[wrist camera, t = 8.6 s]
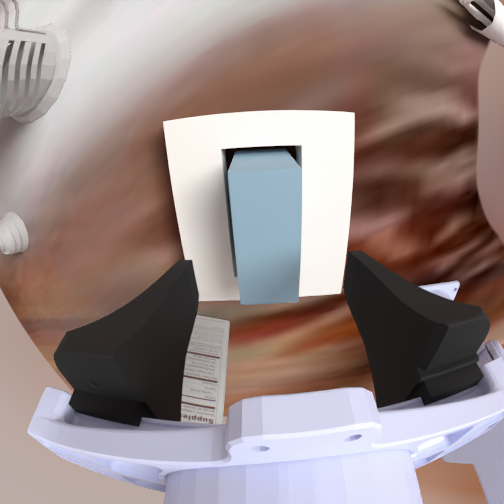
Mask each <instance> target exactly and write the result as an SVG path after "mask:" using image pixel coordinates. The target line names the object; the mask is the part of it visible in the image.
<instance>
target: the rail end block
mask: <svg viewBox="0 0 504 504" xmlns="http://www.w3.org/2000/svg"><path fill="white" fill-rule="evenodd" d="M228 182H229V193H230V204H231V214H232V225H233V235H234V245H235V255H236V265H237V274H238V284H239V293H240V302H241V305H251V304H272V303H289V302H298V301H299V282H300V257H301V216H302V169H301V167H300V166H299V165H298V164H297V162H296V161H295V160H294V159H293V157H292V156H291V155H290V154H289V152H288V151H287V150H286V149H285V148H279V149H255V150H239V151H236V152H235V154H234V157H233V159H232V162H231V165H230V167H229V170H228Z"/></svg>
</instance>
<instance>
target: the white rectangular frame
mask: <svg viewBox="0 0 504 504" xmlns="http://www.w3.org/2000/svg"><path fill="white" fill-rule="evenodd" d="M163 124H164V133H165V141H166V149H167V156H168V164H169V171H170V178H171V184H172V190H173V197H174V203H175V209H176V214H177V220H178V226H179V231H180V236H181V242H182V247H183V252H184V257H185V260H192V262H193V267H194V272H195V277H196V282H197V287H198V292H199V301H226V300H240V293H239V284H238V274H237V265H236V258H235V248H234V239H233V229H232V218H231V208H230V197H229V187H228V175H227V164H226V153H225V149H228V148H242V147H259V146H286V145H296V162H297V164H298V165H299V166H300V167H301V169H302V216H301V257H300V282H299V297H302V296H316V295H328V294H340V293H341V288H342V281H343V274H344V267H345V259H346V251H347V243H348V234H349V224H350V213H351V200H352V185H353V166H354V113H351V112H338V111H314V110H275V111H251V112H236V113H224V114H214V115H205V116H197V117H189V118H182V119H176V120H170V121H165V122H163Z"/></svg>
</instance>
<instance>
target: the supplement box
mask: <svg viewBox="0 0 504 504" xmlns="http://www.w3.org/2000/svg"><path fill="white" fill-rule="evenodd" d="M229 326H230V322H229V321H227V320H222V319H217V318H211V317H206V316H200V315H196V319H195V323H194V327H193V331H192V334H191V338H190V342H189V346H188V350H187V355H186V360H185V368H184V377H183V388H182V403H181V422H189V423H205V424H223V410H224V396H225V384H226V370H227V355H228V340H229Z"/></svg>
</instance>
